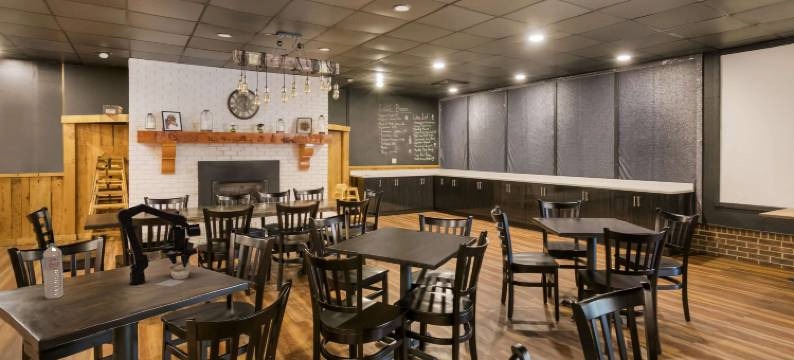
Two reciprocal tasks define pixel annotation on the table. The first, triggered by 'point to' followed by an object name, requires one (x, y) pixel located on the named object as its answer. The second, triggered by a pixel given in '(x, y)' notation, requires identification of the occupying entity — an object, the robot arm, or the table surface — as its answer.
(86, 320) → the table surface
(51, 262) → the water bottle
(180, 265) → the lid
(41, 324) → the table surface
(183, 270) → the bowl
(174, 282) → the mat
